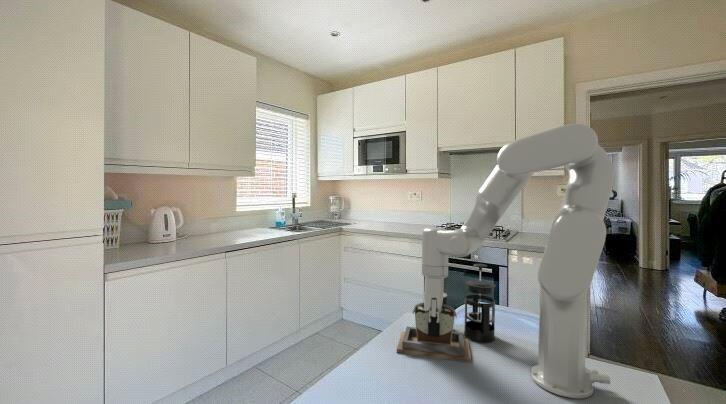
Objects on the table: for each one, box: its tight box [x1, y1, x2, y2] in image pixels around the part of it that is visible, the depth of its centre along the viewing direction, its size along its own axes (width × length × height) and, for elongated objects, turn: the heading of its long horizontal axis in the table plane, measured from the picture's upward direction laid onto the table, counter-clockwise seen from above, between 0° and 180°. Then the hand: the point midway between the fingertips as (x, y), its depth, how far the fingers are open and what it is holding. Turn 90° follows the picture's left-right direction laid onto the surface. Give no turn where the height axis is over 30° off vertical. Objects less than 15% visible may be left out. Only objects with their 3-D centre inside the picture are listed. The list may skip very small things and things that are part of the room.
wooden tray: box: [396, 326, 472, 363], centre depth 92 cm, size 20×12×3 cm, turn 76°
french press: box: [463, 263, 496, 344], centre depth 99 cm, size 12×9×23 cm
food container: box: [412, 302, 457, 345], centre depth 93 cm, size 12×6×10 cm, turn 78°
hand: (433, 331), depth 92 cm, fingers closed on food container, 5 cm apart
